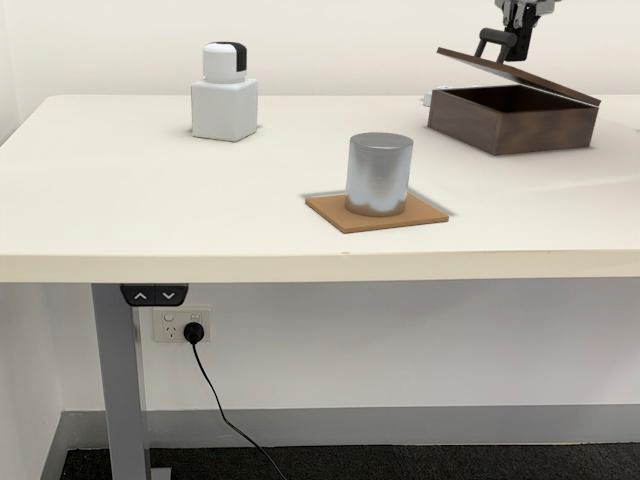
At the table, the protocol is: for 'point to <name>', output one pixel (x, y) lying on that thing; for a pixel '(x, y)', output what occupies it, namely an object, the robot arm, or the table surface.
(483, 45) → the lid
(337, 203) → the mat
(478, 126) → the box
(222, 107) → the white block with cylinder
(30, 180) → the table surface
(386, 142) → the silver metal canister
